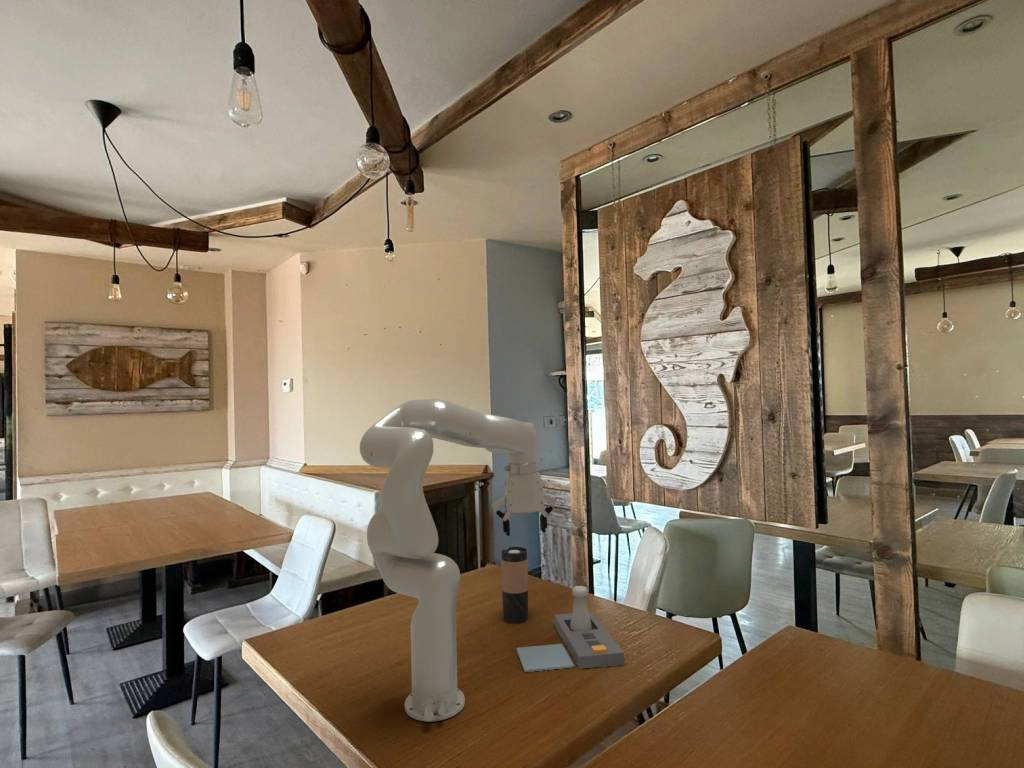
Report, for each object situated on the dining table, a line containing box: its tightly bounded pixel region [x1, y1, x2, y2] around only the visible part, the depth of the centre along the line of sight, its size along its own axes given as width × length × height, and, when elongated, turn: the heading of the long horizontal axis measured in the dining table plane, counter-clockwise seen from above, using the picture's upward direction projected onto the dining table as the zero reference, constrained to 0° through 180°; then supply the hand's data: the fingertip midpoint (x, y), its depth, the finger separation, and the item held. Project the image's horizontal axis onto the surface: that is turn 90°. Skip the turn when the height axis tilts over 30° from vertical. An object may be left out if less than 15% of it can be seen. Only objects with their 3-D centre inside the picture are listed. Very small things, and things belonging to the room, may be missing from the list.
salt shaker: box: [570, 585, 592, 631], centre depth 150 cm, size 6×6×13 cm
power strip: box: [553, 611, 625, 670], centre depth 145 cm, size 26×11×4 cm, turn 9°
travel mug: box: [501, 546, 529, 625], centre depth 163 cm, size 8×8×20 cm
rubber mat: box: [515, 643, 575, 673], centre depth 137 cm, size 12×12×1 cm
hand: (525, 532), depth 148 cm, fingers open, 9 cm apart
